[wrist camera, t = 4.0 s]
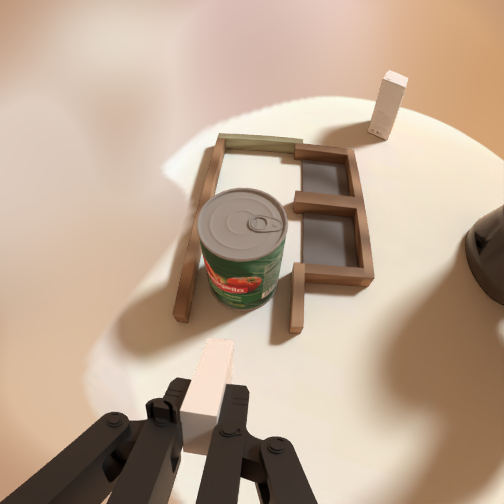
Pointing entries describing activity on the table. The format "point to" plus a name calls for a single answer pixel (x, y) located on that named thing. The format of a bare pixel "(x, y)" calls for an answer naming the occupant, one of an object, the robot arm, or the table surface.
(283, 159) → the table surface
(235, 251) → the canned tomato
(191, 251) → the wooden rail frame
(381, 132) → the skincare box
